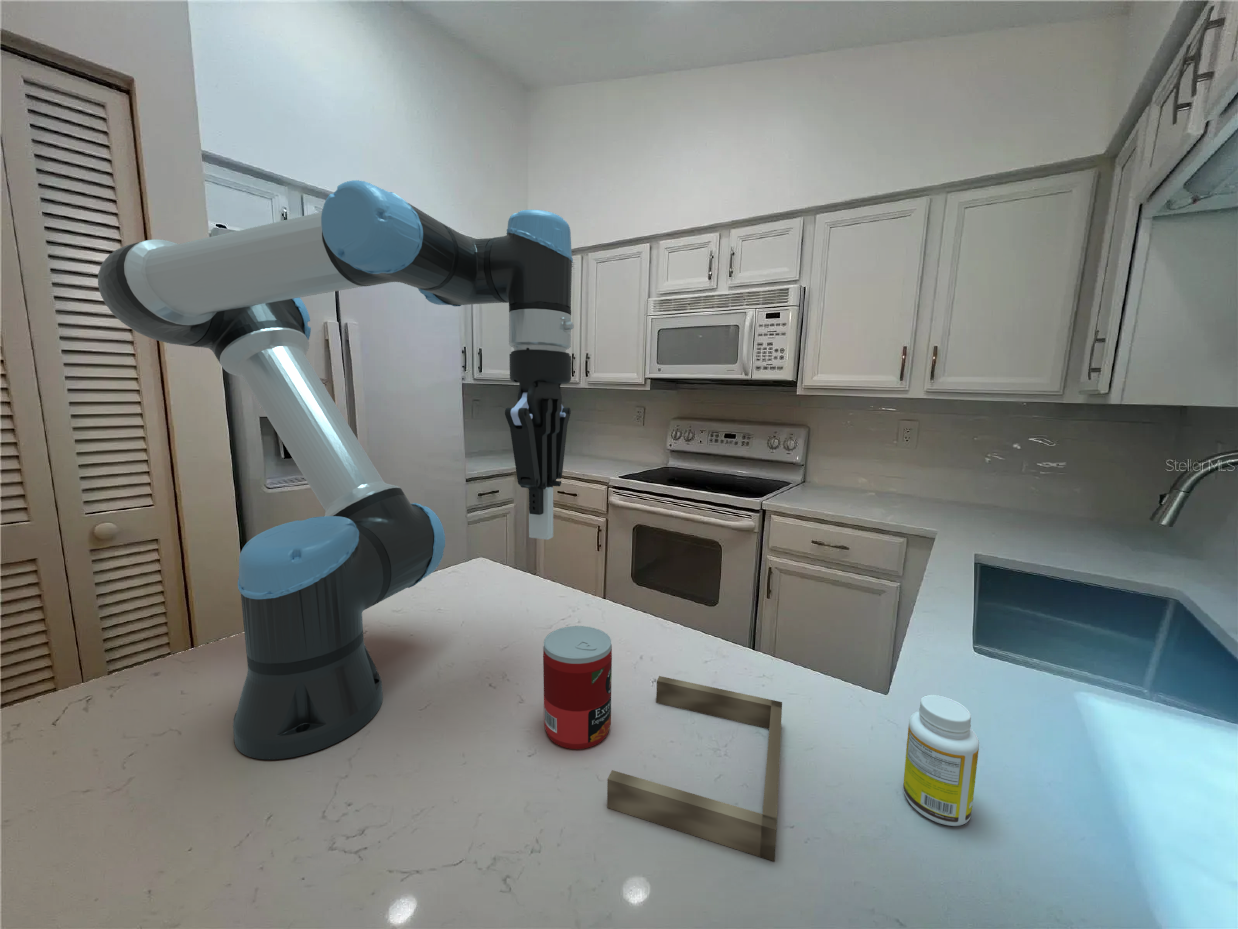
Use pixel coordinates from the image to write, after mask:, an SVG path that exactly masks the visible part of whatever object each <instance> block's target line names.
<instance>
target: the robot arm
mask: <svg viewBox="0 0 1238 929" xmlns="http://www.w3.org/2000/svg"><path fill="white" fill-rule="evenodd" d="M572 253H573V252H572V236H571V227H570V225H569V223H568V222H567V221H566V220H565V219H564V218H563V217H562V216H560V215H558V214H557V213H554V212H551V211H547V210H542V209H523V210H520V211H518V212H514V213H513V214H511V215H510V217H509V218H508V221H507V229H506V235H503V236H496V237H495V236H494V237H492V238H491V237H489V238H470V237H467V236H465V235H464V234H462V233H460V232H458V231H456V230H455V229H453V228H452V227H450V226H448V225H447V224H444V223H442V222H441V221H439V220H437V219H435V218H434V217H432V216H431V215H429V214H427V213H425V212H424V211H423V210H421V209H419V208H417V207H415V206H414V205H412V204H411V203H409V202H407V201H406V200H405V199H404V198H403V197H401V196H399V195H397V193H394V192H392V191H388V190H386V189H384V188H382V187H381V188H380V187H379V186H377V185H374V184H372V183H370V182H367V181H365V180H359V179H358V180H357V179H356V180H349V181H344V182H342V183H339V185H338V186H337V188H336V190H335V191H334V192H333V193H330V194H329V195H328V196H327V197H326V199H325V201H324V203H323V207H322V211H319V212H315V213H311V214H306V215H301V216H297V217H294V218H288V219H285V220H280V221H276V222H271V223H266V224H262V225H258V226H253V227H249V228H244V229H240V230H235V231H231V232H227V233H223V234H219V235H214V236H210V237H205V238H200V239H196V240H191V241H188V242H183V243H176V242H173V241H171V240H166V239H156V238H155V239H147V240H143V241H139V242H138V241H137V242H135V243H131V244H126V245H124V246H122V247H119V248H117V249H115V250H114V251H113V252H112V253H109V255H107V257H106V258H105V259H104V260H103V262H102V263H101V265H100V267H99V271H98V274H97V286H98V289H99V293H100V296H101V299H102V301H103V302H104V304H105V305H106V307H107V309H108V310H109V311H110V312H111V314H112V315H114V317H115V318H116V319H117V320H119V321H120V322H121V323H122V324H124V325H125V326H127V327H128V328H130V329H131V330H133V331H134V332H136V333H138V334H140V335H142V336H145V337H147V338H150V339H151V340H156V341H159V342H161V343H166V344H170V345H179V346H185V347H186V346H187V347H195V348H203V349H209V350H211V352H213V355H214V356H215V358H216V359H217V361H218V362H219V364H220V366H221V367H222V369H223V370H225V372H227V373H228V374H230V375H233V376H236V377H241V378H243V381H244V382H245V383H246V385H247V386H248V388H249V390H250V391H251V393H252V395H253V396H254V398H255V399H256V401H257V403H258V404H259V406H260V407H261V410H262V411H263V412H264V414H265V416H266V417H267V419H268V421H269V422H270V424H271V426H272V427H273V428H274V430H275V432H276V433H277V436H278V437H279V439H280V440H281V442H282V443H283V445H284V446H285V448H286V450H287V452H288V453H289V454H290V456H291V458H292V459H293V462H294V463H295V464H296V466H297V468H298V470H299V471H300V473H301V475H302V476H303V478H304V479H305V481H306V482H307V484H308V485H309V487H310V489H311V491H312V492H313V493H314V495H315V498H316V499H317V500H318V502H319V504H320V505H321V507H322V508H323V510H324V516H313V517H310V518H307V519H303V520H297V519H296V520H293V521H290V522H285V523H282V524H279V525H276V526H273V527H271V528H268V529H266V530H264V531H262V532H260V533H258V534H256V535H254V536H253V537H252V538H251V539H249V540H248V541H247V542H246V543H245V545H244V546H243V547H242V549H241V552H240V553H239V556H238V578H237V579H238V580H237V589H238V591H239V593H240V600H241V601H240V602H241V610H242V620H243V631H244V640H245V641H244V642H245V651H246V652H245V653H246V660H247V673H246V674H247V675H246V677H245V681H244V684H243V687H242V691H241V693H240V697H239V702H238V704H237V705H238V706H237V710H236V711H235V713H234V716H233V723H232V728H233V739H234V745H235V747H236V749H237V750H238V751H239V752H240V753H241V754H242V755H244V756H246V757H249V758H253V759H257V760H281V759H291V758H296V757H300V756H304V755H308V754H311V753H315V752H317V751H320V750H323V749H325V748H328V747H330V746H333V745H335V744H336V743H339V742H341V741H343V740H345V739H346V738H348V737H350V736H352V735H353V734H356V732H358V731H360V730H361V729H362V728H363V727H364V726H366V725H367V724H368V723H369V722H370V721H371V720H372V719H373V718H374V717H375V716H376V714H377V713H378V711H379V710H380V708H381V707H382V703H383V698H384V696H383V682H382V679H381V675H380V673H379V672H378V669H377V667H376V665H375V663H374V661H373V658H372V657H371V654H370V653H369V650H368V649H367V646H366V645H365V639H364V623H363V612H364V611H366V610H368V609H369V608H370V607H373V606H375V605H376V604H379V603H380V602H382V601H384V600H387V599H389V598H391V597H392V596H394V595H396V594H398V593H400V592H401V591H403V590H406V589H407V588H408V589H410V588H412V587H415V585H417V584H418V583H420V582H422V580H423V579H425V578H427V577H428V576H430V575H431V574H432V573H434V572H435V571H436V569H438V567H439V565H440V563H441V562H442V560H443V557H444V550H445V547H446V534H445V529H444V526H443V523H442V522H441V520H440V518H439V517H438V515H437V513H435V511H434V510H432V509H431V508H430V507H428V506H425V505H422V504H420V503H417V502H413V503H411V502H410V500H409V498H408V497H407V496H406V494H405V492H404V491H403V489H402V487H401V486H400V485H396V484H395V485H394V484H390V483H387V482H385V481H384V479H383V478H382V476H381V475H380V473H379V471H378V470H377V468H376V467H375V465H374V463H373V462H372V460H371V459H370V456H369V455H368V454H367V452H366V451H365V449H364V447H363V446H362V444H361V443H360V441H359V439H358V438H357V436H356V435H355V433H354V431H353V430H352V428H351V427H350V425H349V424H348V422H347V420H346V419H345V417H344V416H343V414H342V412H341V411H340V409H339V407H338V406H337V404H336V402H335V401H334V399H333V398H332V396H331V394H330V392H328V390H327V388H326V387H325V385H324V383H323V382H322V380H321V378H320V377H319V375H318V374H317V372H316V370H315V369H314V366H312V364H311V363H310V361H309V359H308V358H307V353H308V351H309V349H310V342H309V340H310V338H311V331H312V327H311V326H309V325H308V323H310V322H311V316H310V314H309V311H308V308H307V306H306V305H305V304H306V303H304V301H303V300H302V298H304V297H311V296H316V295H322V294H328V293H332V292H333V293H334V292H339V291H345V290H349V289H350V290H351V289H357V288H363V287H371V286H376V285H383V284H390V283H401V284H404V285H408V286H411V287H414V288H416V289H418V291H419V292H420V294H422V295H423V296H424V297H425V299H426V300H427V301H428V302H429V303H431V304H434V305H438V306H452V307H462V306H468V305H485V304H486V305H487V304H499V303H500V304H503V303H504V304H507V303H508V345H509V346H510V348H513V350H512V351H511V352H510V353H509V380H510V381H511V382H513V383H515V384H519V385H518V391H517V394H516V400H517V403H516V404H515V406H513V407H506V408H505V411H504V415H505V418H506V421H507V423H508V427H509V430H510V437H511V438H510V439H511V444H512V451H513V459H514V463H515V464H514V465H515V473H516V478H517V484H518V485H519V487H520V488H522V489H523V488H524V489H528V535H529V536H528V537H529V538H531V539H538V540H539V539H540V540H550V539H552V538H554V487H561V485H562V480H561V479H562V477H563V471H564V462H565V460H564V459H565V450H566V442H567V433H568V432H567V431H568V424H569V421H570V418H571V413H572V410H571V408H570V407H569V406H568V407H567V406H566V407H564V405H563V404H562V402H563V397H562V396H563V395H562V389H561V385H567V384H569V383H570V382H571V381H572V355H570V353H568V352H567V350H569V349H570V348H571V347H572V330H573V329H574V327H575V325H574V322H572V281H573V280H572V277H573V275H572V274H573V262H574V259H573V255H572Z"/></svg>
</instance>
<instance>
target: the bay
mask: <svg viewBox="0 0 1238 929" xmlns="http://www.w3.org/2000/svg"><path fill="white" fill-rule="evenodd" d="M655 694H656V697H655V703H657V704H659V705H660V704H662V705H665V706H670V707H674V708H677V709H682V710H687V711H691V712H695V713H699V714H705V715H707V716H708V715H709V716H712V717H716V718H720V719H725V720H729V721H734V722H738V723H742V724H747V725H751V726H756V727H760V728H763V729H768V738H767V739H768V742H767V754H766V755H767V756H766V765H765V780H764V790H763V791H764V792H763V804H762V813H760V812H757V811H754V810H750V809H747V808H743V807H739V806H736V805H733V804H729V803H726V802H724V801H719V800H716V799H713V798H709V797H706V796H702V795H699V794H697V793H691V792H689V791H685V790H682V789H677V788H674V787H671V786H667V785H664V784H661V783H659V782H655V781H651V780H648V779H646V778H645V779H644V778H641V777H637V776H635V775H630V774H628V773H624V772H620V771H616V770H615V769H614V770H613V769H611V771H610V773H609V775H608V777H607V779H606V781H607V783H606V786H607V787H606V789H607V790H606V791H607V793H606V795H607V796H606V799H607V800H606V803H607V804H606V808H608V809H610V810H613V811H617V812H619V813H623V814H625V815H629V816H632V817H635V818H638V819H641V820H645V821H647V822H650V823H654V824H657V825H660V826H663V827H667V828H670V829H672V830H676V831H679V832H682V833H684V834H687V835H691V836H695V837H696V838H699V839H700V838H701V839H703V840H706V841H708V842H713V843H716V844H718V845H722V846H724V847H725V846H726V847H728V848H731V849H735V850H738V851H740V852H743V853H747V854H749V855H752V856H756V857H760V858H762V859H765V860H768V861H771V862H774V863H775V859H776V846H777V845H776V843H777V825H778V824H777V823H778V806H779V805H778V803H779V781H780V759H781V758H780V757H781V738H782V736H781V735H782V718H783V717H782V716H783V714H782V713H783V711H782V710H783V701H780V700H779V701H778V700H775V699H771V698H770V699H769V698H765V697H760V696H756V695H750V694H745V693H741V692H736V691H732V690H728V689H723V688H718V687H712V686H709V685H703V684H699V683H694V682H690V681H685V680H680V679H675V678H672V677H667V676H663V675H659V676H658V678H657V679H656V693H655Z"/></svg>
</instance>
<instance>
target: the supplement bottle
mask: <svg viewBox="0 0 1238 929" xmlns="http://www.w3.org/2000/svg"><path fill="white" fill-rule="evenodd" d="M971 720H972V714H971V712H970V711H969V709H968V708H967V707H966V706H964V705H963V704H962V703H960V702H958V701H956V700H954V699H951V698H949V697H946V696H942V695H938V694H928V695H925V696H922V697H921V699H920V704H919V708H918V711H917V710H916V711H915V712H913V713H912V714H911V716H910V717H909V719H908V727H907V740H906V749H905V750H906V752H905V762H904V772H903V785H902V786H903V787H902V788H903V793H904V796H905V798H906V800H907V801H908V802H909V804H910V805H911V806H912V807H913V808H914V810H916V811H917V812H918V813H919V814H921V815H922V816H923V817H925V818H927V819H929V820H931V821H933V822H935V823H938V824H942V825H945V826H952V827H959V826H962V825H964V824H967V823H968V822H969V820H970V819H971V817H972V814H973V813H972V811H973V803H974V795H975V784H976V779H977V778H976V777H977V769H978V768H977V767H978V759H979V752H980V751H979V750H980V739H979V738H978V736H977V733H976V732H975V731H974V730H973V729H972V725H971V724H972V723H971V722H972V721H971Z"/></svg>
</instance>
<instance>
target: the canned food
mask: <svg viewBox="0 0 1238 929" xmlns="http://www.w3.org/2000/svg"><path fill="white" fill-rule="evenodd" d="M542 649H543V650H542V651H543V654H542V655H543V656H542V662H543V663H542V664H543V666H542V668H543V669H542V670H543V671H542V674H543V724H544V729H545V732H546V734H547V737H548V739H550V740H551V742H553V743H554V744H555V745H558V746H560V747H562V748H565V749H569V750H570V749H572V750H582V749H588V748H591V747H595V746H596V745H598V744H601V742H602V741H604V739H605V738H606V737H607V735H608V734H609V732H610V728H611V724H612V678H613V677H612V671H613V670H612V668H613V666H612V664H613V663H612V662H613V657H612V656H613V655H612V654H613V653H612V652H613V646H612V639H611V637H610V636H609V634H608V633H606V632H605V631H603V630H601V629H599V628H596V627H592V626H584V625H571V626H564V627H562V628H558V629H556V630H555V629H554V630H553V631H551V632H550V633H548V634H547V635H546V636H545V638H544V640H543V646H542Z"/></svg>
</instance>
